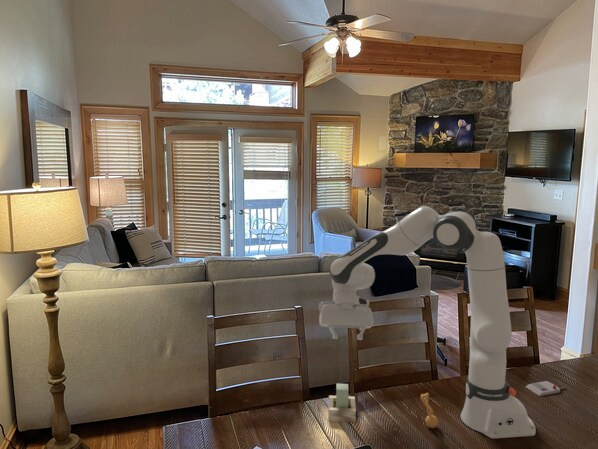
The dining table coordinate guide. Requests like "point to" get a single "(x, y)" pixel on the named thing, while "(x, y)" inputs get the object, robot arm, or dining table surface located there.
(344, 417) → the beige square socket frame
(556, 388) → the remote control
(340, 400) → the sage-green peg
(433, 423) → the figurine
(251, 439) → the dining table surface
